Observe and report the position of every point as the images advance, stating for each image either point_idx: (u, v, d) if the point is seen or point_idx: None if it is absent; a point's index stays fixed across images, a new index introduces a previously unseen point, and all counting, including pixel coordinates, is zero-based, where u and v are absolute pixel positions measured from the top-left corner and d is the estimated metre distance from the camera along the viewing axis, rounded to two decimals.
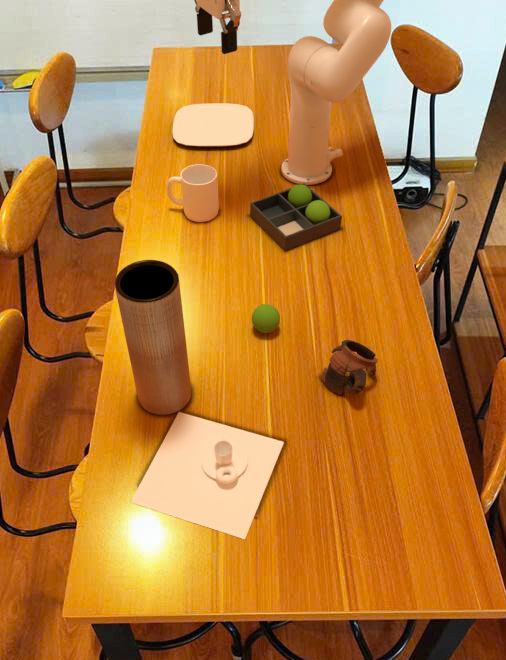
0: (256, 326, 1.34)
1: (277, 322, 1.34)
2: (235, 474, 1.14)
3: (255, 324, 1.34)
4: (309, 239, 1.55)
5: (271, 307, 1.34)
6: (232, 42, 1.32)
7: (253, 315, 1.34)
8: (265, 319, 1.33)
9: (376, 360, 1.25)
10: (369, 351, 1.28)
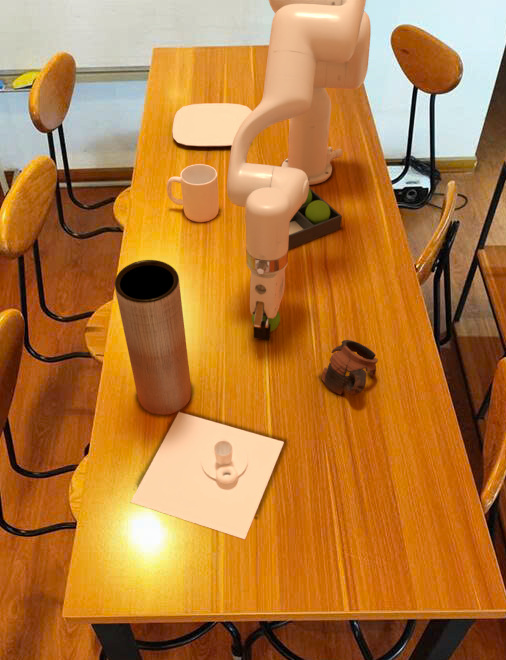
0: None
1: (277, 322, 1.34)
2: (235, 474, 1.14)
3: None
4: (309, 239, 1.55)
5: None
6: (261, 334, 1.33)
7: (253, 315, 1.34)
8: (265, 319, 1.33)
9: (376, 360, 1.25)
10: (369, 351, 1.28)
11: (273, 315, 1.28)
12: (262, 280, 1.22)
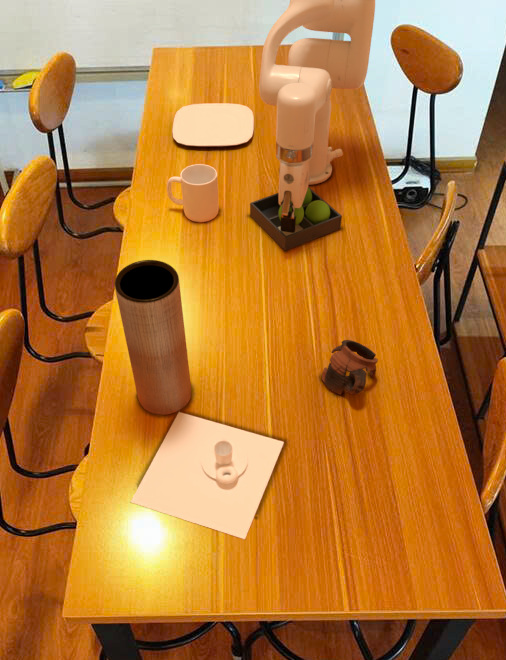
0: None
1: (301, 215, 1.50)
2: (235, 474, 1.14)
3: None
4: (309, 239, 1.55)
5: None
6: (287, 226, 1.49)
7: (280, 209, 1.50)
8: None
9: (376, 360, 1.25)
10: (369, 351, 1.28)
11: (299, 205, 1.44)
12: (290, 170, 1.38)
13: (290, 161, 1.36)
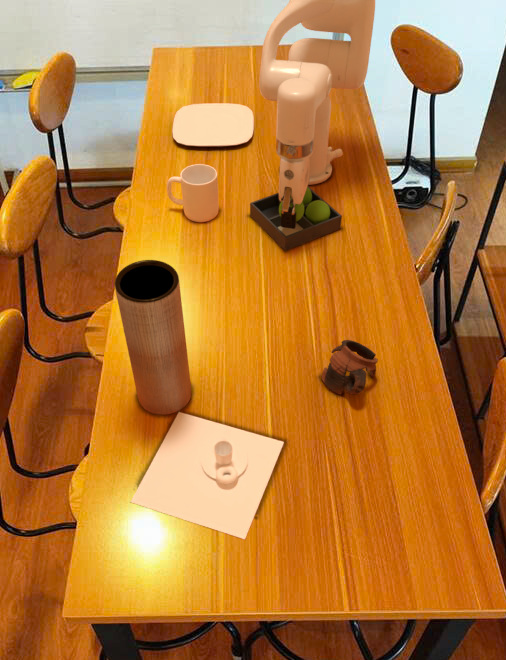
0: None
1: (302, 212, 1.50)
2: (235, 474, 1.14)
3: None
4: (309, 239, 1.55)
5: None
6: (288, 221, 1.49)
7: (280, 206, 1.50)
8: None
9: (376, 360, 1.25)
10: (369, 351, 1.28)
11: (299, 201, 1.43)
12: (290, 165, 1.38)
13: (290, 157, 1.35)
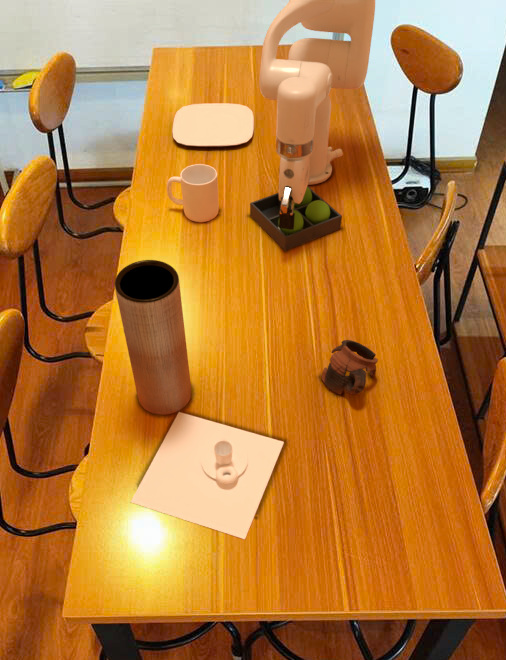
0: (282, 228, 1.52)
1: (301, 225, 1.52)
2: (235, 474, 1.14)
3: None
4: (309, 239, 1.55)
5: (296, 211, 1.52)
6: (286, 222, 1.47)
7: None
8: None
9: (376, 360, 1.25)
10: (369, 351, 1.28)
11: (299, 200, 1.43)
12: (290, 165, 1.37)
13: (290, 156, 1.35)
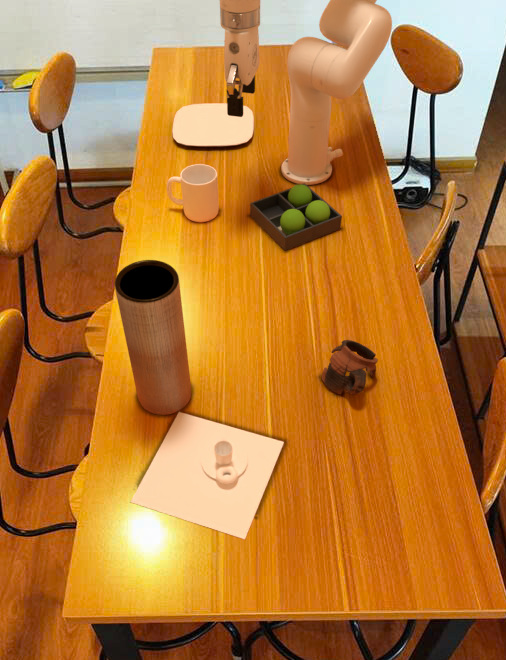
0: (284, 225, 1.52)
1: (303, 224, 1.52)
2: (235, 474, 1.14)
3: (284, 223, 1.52)
4: (309, 239, 1.55)
5: (299, 211, 1.52)
6: (234, 107, 1.37)
7: (283, 216, 1.52)
8: (294, 219, 1.51)
9: (376, 360, 1.25)
10: (369, 351, 1.28)
11: (247, 80, 1.33)
12: (235, 37, 1.28)
13: (234, 25, 1.25)
